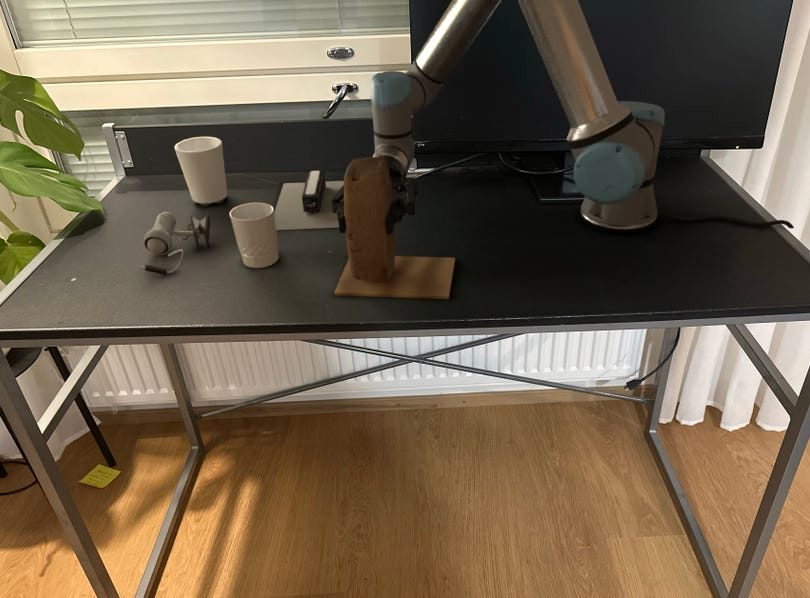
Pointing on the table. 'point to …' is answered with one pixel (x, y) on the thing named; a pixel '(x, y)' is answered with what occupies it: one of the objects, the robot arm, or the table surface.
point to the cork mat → (404, 280)
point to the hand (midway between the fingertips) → (364, 226)
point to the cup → (203, 169)
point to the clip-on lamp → (161, 238)
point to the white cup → (255, 234)
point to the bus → (307, 204)
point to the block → (368, 219)
